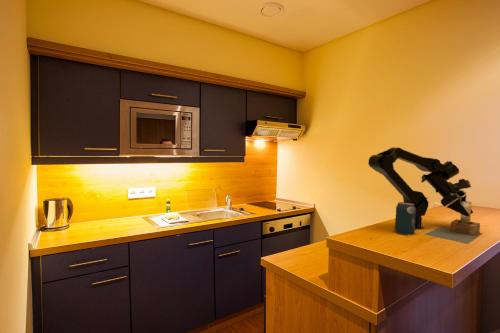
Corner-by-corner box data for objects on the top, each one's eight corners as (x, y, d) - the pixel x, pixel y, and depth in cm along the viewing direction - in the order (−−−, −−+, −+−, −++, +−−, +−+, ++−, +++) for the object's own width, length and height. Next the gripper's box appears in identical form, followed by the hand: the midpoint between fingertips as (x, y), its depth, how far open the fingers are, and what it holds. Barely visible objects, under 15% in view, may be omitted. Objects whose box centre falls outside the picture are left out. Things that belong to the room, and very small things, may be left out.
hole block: (474, 236, 111) (475, 226, 111) (450, 231, 117) (451, 221, 117) (479, 232, 117) (480, 223, 116) (456, 228, 123) (456, 219, 122)
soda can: (417, 236, 110) (419, 205, 110) (397, 234, 112) (399, 204, 111) (410, 231, 117) (412, 202, 117) (392, 230, 119) (394, 201, 118)
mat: (468, 244, 101) (468, 243, 101) (424, 235, 112) (424, 234, 112) (482, 234, 116) (482, 233, 116) (442, 226, 126) (442, 225, 126)
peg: (464, 233, 115) (466, 202, 114) (457, 231, 118) (459, 201, 118) (471, 233, 116) (473, 202, 115) (464, 230, 119) (466, 201, 118)
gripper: (452, 173, 112) (486, 205, 105) (461, 171, 125) (492, 200, 118) (428, 190, 118) (458, 222, 111) (439, 187, 131) (467, 215, 124)
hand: (470, 214), depth 116 cm, fingers open, 8 cm apart
